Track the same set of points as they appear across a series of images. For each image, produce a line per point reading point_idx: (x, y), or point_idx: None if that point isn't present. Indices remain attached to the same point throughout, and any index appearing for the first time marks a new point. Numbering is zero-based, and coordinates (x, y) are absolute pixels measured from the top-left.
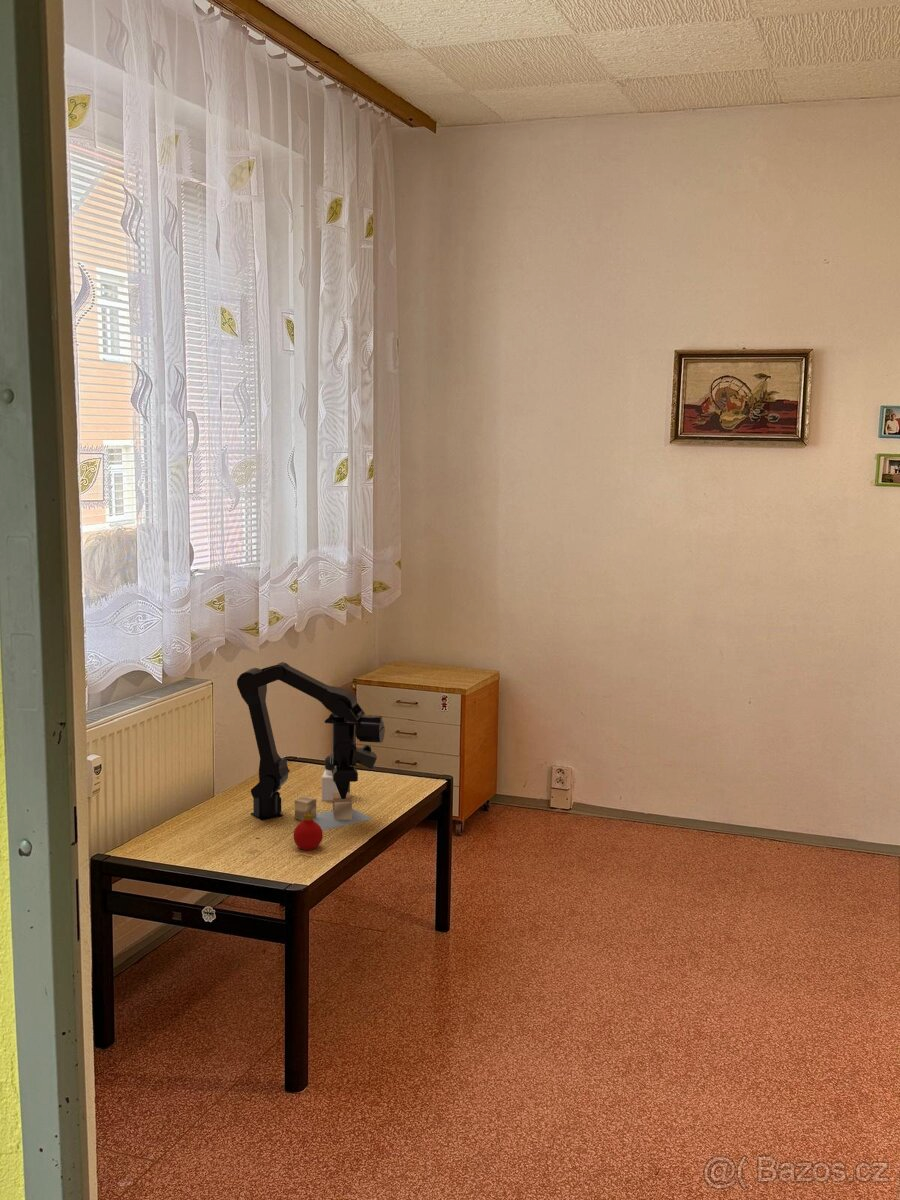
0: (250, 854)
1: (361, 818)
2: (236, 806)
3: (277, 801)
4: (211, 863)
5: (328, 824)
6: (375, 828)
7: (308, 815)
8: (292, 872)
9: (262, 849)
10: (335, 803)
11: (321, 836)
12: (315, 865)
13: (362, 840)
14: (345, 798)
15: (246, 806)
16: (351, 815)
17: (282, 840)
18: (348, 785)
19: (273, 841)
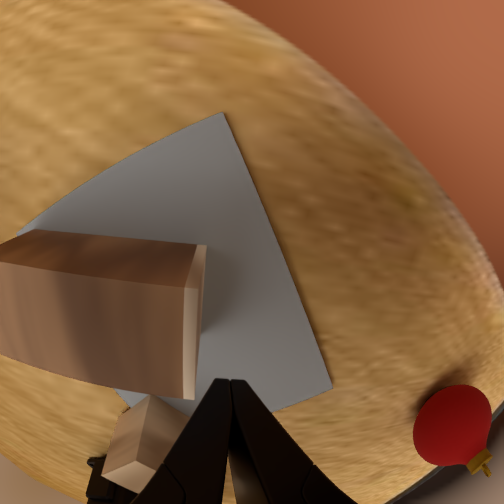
0: (387, 475)
1: (202, 184)
2: (73, 483)
3: (126, 499)
4: (387, 495)
5: (261, 365)
6: (361, 140)
7: (486, 463)
8: (492, 399)
9: (376, 469)
10: (193, 395)
11: (483, 394)
12: (499, 369)
13: (461, 242)
14: (243, 379)
15: (68, 474)
16: (205, 255)
17: (344, 456)
18: (335, 488)
19: (341, 467)
